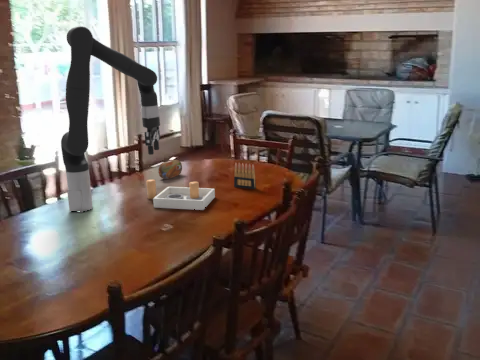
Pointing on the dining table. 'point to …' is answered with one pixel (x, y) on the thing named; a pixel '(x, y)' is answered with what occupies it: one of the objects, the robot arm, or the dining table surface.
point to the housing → (184, 197)
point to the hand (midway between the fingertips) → (154, 152)
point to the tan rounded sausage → (151, 188)
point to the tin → (170, 169)
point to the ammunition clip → (244, 176)
